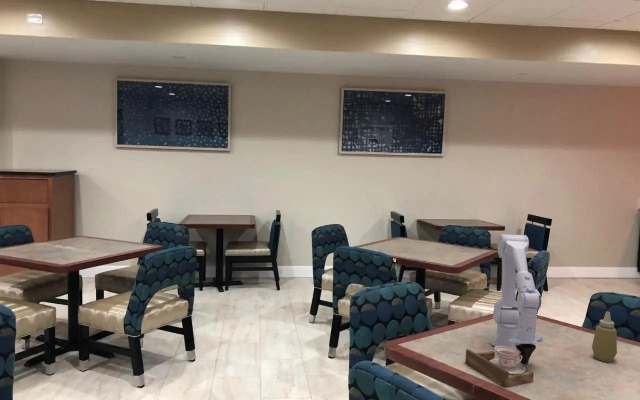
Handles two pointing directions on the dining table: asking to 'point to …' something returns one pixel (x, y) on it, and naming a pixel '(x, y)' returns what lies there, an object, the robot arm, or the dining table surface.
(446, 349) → the dining table surface
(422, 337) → the dining table surface
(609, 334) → the squeeze bottle
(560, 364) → the dining table surface
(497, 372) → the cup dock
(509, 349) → the teacup
